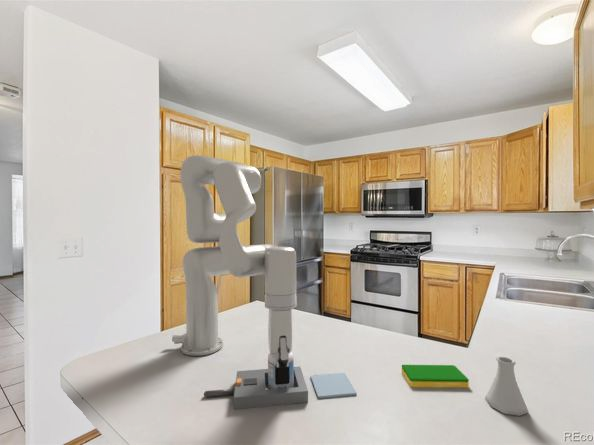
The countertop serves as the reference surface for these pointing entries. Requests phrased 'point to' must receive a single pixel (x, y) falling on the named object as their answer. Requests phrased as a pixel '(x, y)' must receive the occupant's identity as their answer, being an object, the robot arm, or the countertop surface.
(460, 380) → the dish sponge
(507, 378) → the flask
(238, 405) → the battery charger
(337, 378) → the slate mat
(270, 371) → the pill bottle
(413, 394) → the countertop surface
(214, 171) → the robot arm
